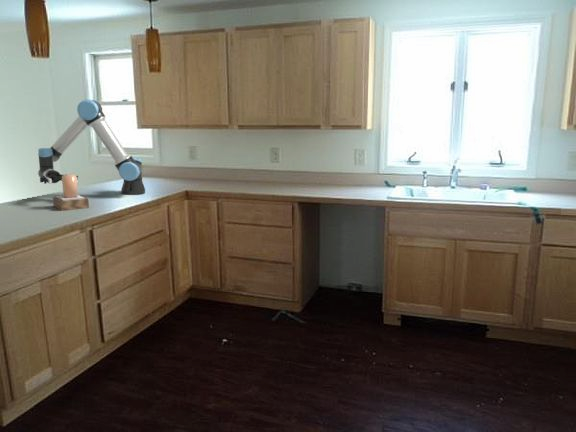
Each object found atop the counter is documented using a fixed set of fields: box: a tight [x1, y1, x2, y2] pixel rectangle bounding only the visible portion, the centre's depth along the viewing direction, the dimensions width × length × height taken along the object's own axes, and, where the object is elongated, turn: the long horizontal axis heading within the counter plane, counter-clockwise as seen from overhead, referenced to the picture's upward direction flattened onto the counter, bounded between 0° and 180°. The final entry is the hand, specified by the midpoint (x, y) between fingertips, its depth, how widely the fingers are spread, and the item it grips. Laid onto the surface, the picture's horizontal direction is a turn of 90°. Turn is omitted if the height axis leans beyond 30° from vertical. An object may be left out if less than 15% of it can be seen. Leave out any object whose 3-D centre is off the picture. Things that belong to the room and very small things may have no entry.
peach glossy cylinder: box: [61, 173, 78, 198], centre depth 251 cm, size 7×7×12 cm
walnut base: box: [52, 194, 90, 212], centre depth 252 cm, size 14×14×6 cm
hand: (64, 180), depth 257 cm, fingers open, 13 cm apart
